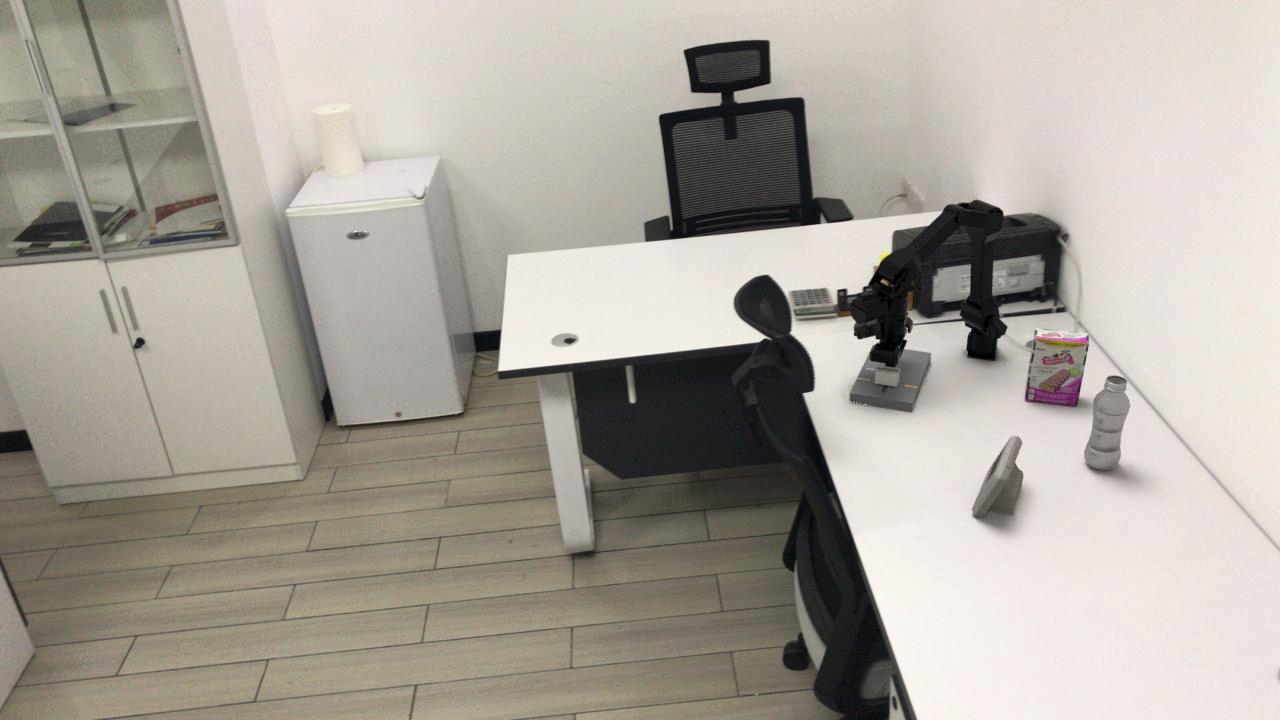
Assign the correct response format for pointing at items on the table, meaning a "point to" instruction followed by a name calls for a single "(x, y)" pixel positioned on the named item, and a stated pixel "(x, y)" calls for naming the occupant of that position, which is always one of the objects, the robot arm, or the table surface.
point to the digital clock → (1001, 482)
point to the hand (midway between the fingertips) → (889, 371)
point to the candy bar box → (1056, 366)
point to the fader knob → (887, 375)
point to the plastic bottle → (1107, 424)
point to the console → (891, 396)
